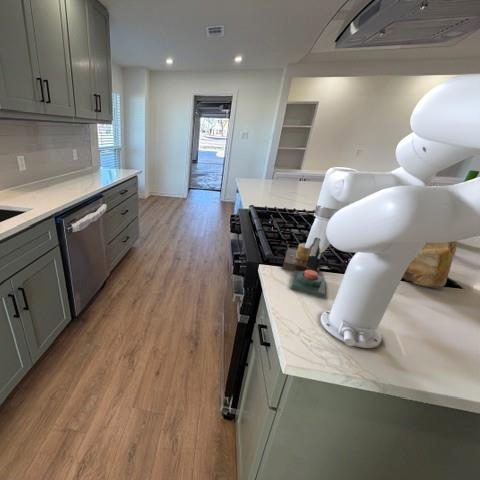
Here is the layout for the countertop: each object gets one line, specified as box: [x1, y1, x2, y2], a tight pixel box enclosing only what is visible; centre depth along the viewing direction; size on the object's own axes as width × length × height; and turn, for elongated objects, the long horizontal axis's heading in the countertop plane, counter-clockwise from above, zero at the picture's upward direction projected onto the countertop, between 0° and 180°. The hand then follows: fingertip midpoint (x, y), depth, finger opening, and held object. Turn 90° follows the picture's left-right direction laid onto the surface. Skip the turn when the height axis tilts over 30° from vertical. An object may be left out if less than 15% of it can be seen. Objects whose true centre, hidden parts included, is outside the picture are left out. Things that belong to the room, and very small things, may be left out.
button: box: [304, 270, 319, 280], centre depth 81 cm, size 4×4×2 cm
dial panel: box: [282, 247, 320, 274], centre depth 94 cm, size 14×11×3 cm
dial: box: [296, 242, 312, 261], centre depth 92 cm, size 4×4×5 cm
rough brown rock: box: [402, 241, 458, 289], centre depth 89 cm, size 23×17×15 cm
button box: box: [290, 270, 326, 299], centre depth 82 cm, size 11×9×4 cm
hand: (312, 267), depth 80 cm, fingers closed
